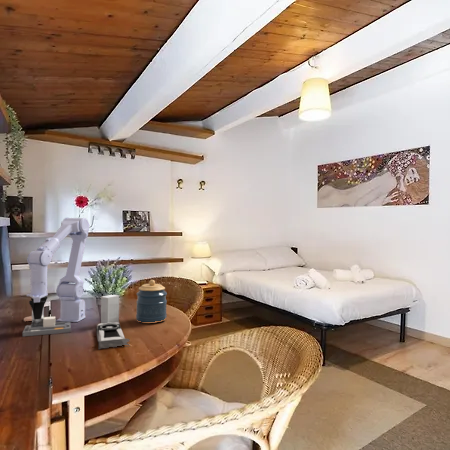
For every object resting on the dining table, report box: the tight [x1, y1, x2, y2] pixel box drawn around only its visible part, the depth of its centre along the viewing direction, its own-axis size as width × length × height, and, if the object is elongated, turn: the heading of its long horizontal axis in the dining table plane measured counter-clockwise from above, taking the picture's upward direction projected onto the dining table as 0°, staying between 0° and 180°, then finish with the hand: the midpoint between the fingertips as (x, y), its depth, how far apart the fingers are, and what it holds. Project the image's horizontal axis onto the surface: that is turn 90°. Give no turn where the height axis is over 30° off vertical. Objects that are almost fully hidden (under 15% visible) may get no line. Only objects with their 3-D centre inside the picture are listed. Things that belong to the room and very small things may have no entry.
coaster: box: [23, 315, 32, 322], centre depth 155 cm, size 7×7×1 cm
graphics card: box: [96, 322, 130, 350], centre depth 132 cm, size 10×3×25 cm
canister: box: [135, 279, 168, 322], centre depth 157 cm, size 13×13×18 cm
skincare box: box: [100, 294, 120, 324], centre depth 148 cm, size 6×4×12 cm
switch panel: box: [22, 321, 72, 337], centre depth 139 cm, size 16×9×2 cm, turn 113°
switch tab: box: [43, 316, 56, 327], centre depth 139 cm, size 4×4×3 cm
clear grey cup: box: [31, 306, 45, 326], centre depth 137 cm, size 4×4×8 cm
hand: (38, 317), depth 137 cm, fingers closed on clear grey cup, 4 cm apart
